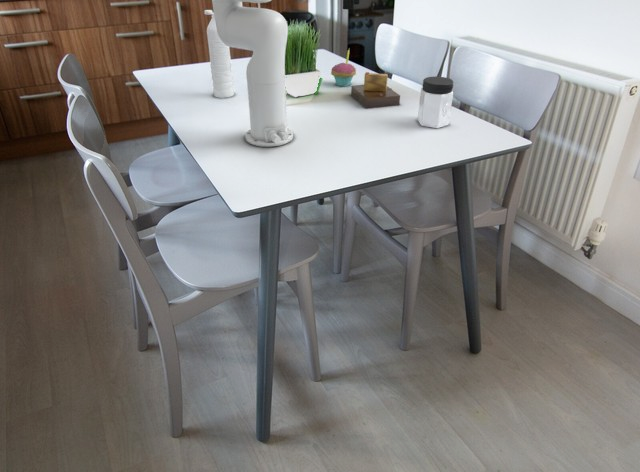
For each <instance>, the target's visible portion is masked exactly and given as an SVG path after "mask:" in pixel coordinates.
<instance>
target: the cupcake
mask: <svg viewBox="0 0 640 472" xmlns="http://www.w3.org/2000/svg"><path fill="white" fill-rule="evenodd" d="M350 49H351V48H350V47H349V48H348V50H347V53H346V60H345V62H340V63H337V64H335V65H333V66H332V67H331V71H330V75H332V76H333V77H334V80H335V84H336V86H339V87H349V86H350V85H351V83H352V80H353V78H354V76H356V74H357V70H356V69H357V68H356V67H355V66H354V65H352V64H351V63H349V58H350V51H351V50H350Z"/></svg>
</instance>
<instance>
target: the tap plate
mask: <svg viewBox="0 0 640 472" xmlns="http://www.w3.org/2000/svg"><path fill="white" fill-rule="evenodd" d="M350 87H351V89H350V95H351V96H352V97H353V98H354V99H355V100H356V101H358V103H360V104H361V105H362V106H363V107H364V108H365V109H374V108H384V107H392V106H393V107H394V106H400V103H401V95H400V94H398V93H397V92H396V91H394V90H393V89H392V87H390V86H388V85H387V90H386V92H381V91H367V90H364V84H356V85H351V86H350Z"/></svg>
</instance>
